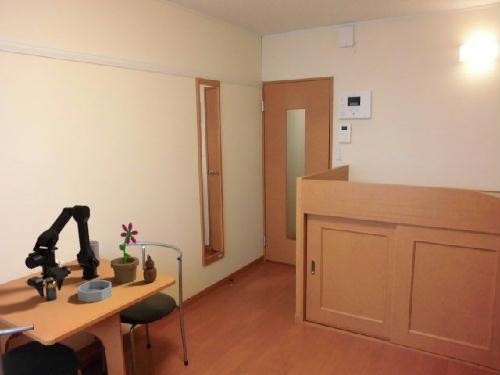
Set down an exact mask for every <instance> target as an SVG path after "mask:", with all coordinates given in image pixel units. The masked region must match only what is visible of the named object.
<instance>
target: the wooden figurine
mask: <svg viewBox="0 0 500 375" xmlns="http://www.w3.org/2000/svg"><path fill="white" fill-rule="evenodd" d="M146 259H147V260H145V262H144V267H145V268H144V269H143V273H142V275H143V279H144V282H145V283H149V284H150V283H153V282H155V281H156V279H157V275H158V274H157V273H158V272H157V267H156V266H155V261H154V260H153V259H152V256H151V255H149V254H147V258H146Z"/></svg>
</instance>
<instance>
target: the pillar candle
mask: <svg viewBox="0 0 500 375" xmlns="http://www.w3.org/2000/svg"><path fill="white" fill-rule="evenodd" d="M99 245H100V243H99V241H98V240H90V247H91V249H92V250H93V252H94V254H95V258H96V259H97V260H98V261H100V246H99ZM99 266H100V264H99ZM81 268H82V269H83V267H81Z"/></svg>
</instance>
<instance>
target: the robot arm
mask: <svg viewBox="0 0 500 375" xmlns="http://www.w3.org/2000/svg"><path fill="white" fill-rule="evenodd" d="M71 218H73V220H74V221H75V222H76V225H77V234H78V242H79V251H78V253H76V262H77V263H78V265H79V267H80V268H82V267H83V268H82V276H81V279H83V280H86V281H87V280H88V281H93V280H94V279H97V278H99V277H100V274H98V267H99V266H100V265H99V264H100V263H101V262H100V260H99V261H98V260H97V259H96V258H95V254H94V252H93V250H92V249H91V247H90V241H91V240H90V230H89V223H88V221H89V219H90V218H91V208H90V207H89V206H88V205H82V204H75V205H74V206H68V207H67V206H66V207H63V208H62V211H61V212H60V214H59V215H58V216H57V218H56V219H55V220H54V222H53V223H52V225H50V227H49V228H48V229H46V230H44V231H43V232H41V233H40V234H39V235H38V237H37V239H36V242H35V245H34V247H33V248H32V252H30V253H28V256H27V257H26V258H25V260H24V264H25V266H26V268H27V269H29V270H34V269H36V268H38V267H40V268H41V270H42V271H41V272H40V276H32V277H30V278H28V279H27V280H26V282H27V283H26V284H27V286H30V287H34V289H35V290H36V291H37V292H38V294H39V296H40V297H41V298H44V297H45V292H44V291H45V290H44V289H45V281H46V280H48V279H51V278H53V279H54V280H55V281H56V289H57V290H58V291H61V290H62V286H63V283H64V281H65V279H66V278H67V277H69V275H71V273H72V270H71V268H70V267H68V266H67V265H65V266H62V265H61V266H62V267H59V266H58V263H56V260H55V258H56V251H58V250H59V247H57V246H56V245H57V243H58V241H59V240H60V235H61V234H60V233H61V232H62V231H63V229H64V228H65V226H66V225H67V224H68V223H69V221H70V220H71Z"/></svg>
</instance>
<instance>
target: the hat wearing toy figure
mask: <svg viewBox="0 0 500 375" xmlns="http://www.w3.org/2000/svg"><path fill="white" fill-rule="evenodd" d="M58 258H59V255H55V260H56V263H58V266H59V268H60V267H62V265H64V261H63V260H62V259H59V260H58ZM50 279H53V278H50Z"/></svg>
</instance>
